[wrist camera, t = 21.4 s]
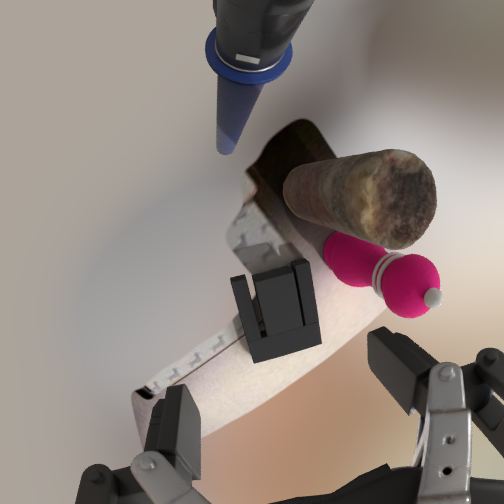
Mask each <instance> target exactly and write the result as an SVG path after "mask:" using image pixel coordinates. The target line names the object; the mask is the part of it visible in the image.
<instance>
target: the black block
mask: <svg viewBox="0 0 504 504" xmlns="http://www.w3.org/2000/svg"><path fill="white" fill-rule="evenodd" d="M252 279H253V283H254V287H255V291H256V296H257V300H258V304H259V308H260V312H261V316H262V320H263V324H264V328H265V330H266V333H267V336H271V335H275V334H278V333H282V332H285V331H289V330H292V329H295V328H299V327H302V326H303V323H302V317H301V311H300V305H299V300H298V294H297V289H296V284H295V278H294V273H293V271H292V270H291V269H290V268H289V267H288V266H286V267H282V268H278V269H274V270H270V271H267V272H263V273H259V274H255V275H252Z"/></svg>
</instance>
